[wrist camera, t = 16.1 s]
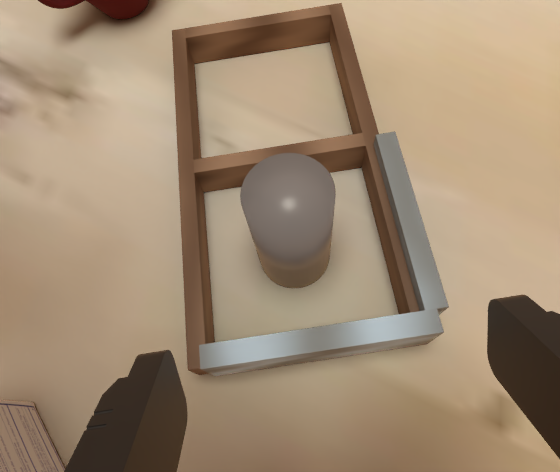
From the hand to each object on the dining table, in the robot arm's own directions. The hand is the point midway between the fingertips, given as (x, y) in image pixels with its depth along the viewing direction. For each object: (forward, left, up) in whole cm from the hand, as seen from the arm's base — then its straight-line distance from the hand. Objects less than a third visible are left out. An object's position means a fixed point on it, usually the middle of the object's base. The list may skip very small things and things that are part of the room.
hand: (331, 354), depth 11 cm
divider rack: (0, +14, -14) cm, 20 cm away
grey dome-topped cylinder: (0, +8, -14) cm, 16 cm away
